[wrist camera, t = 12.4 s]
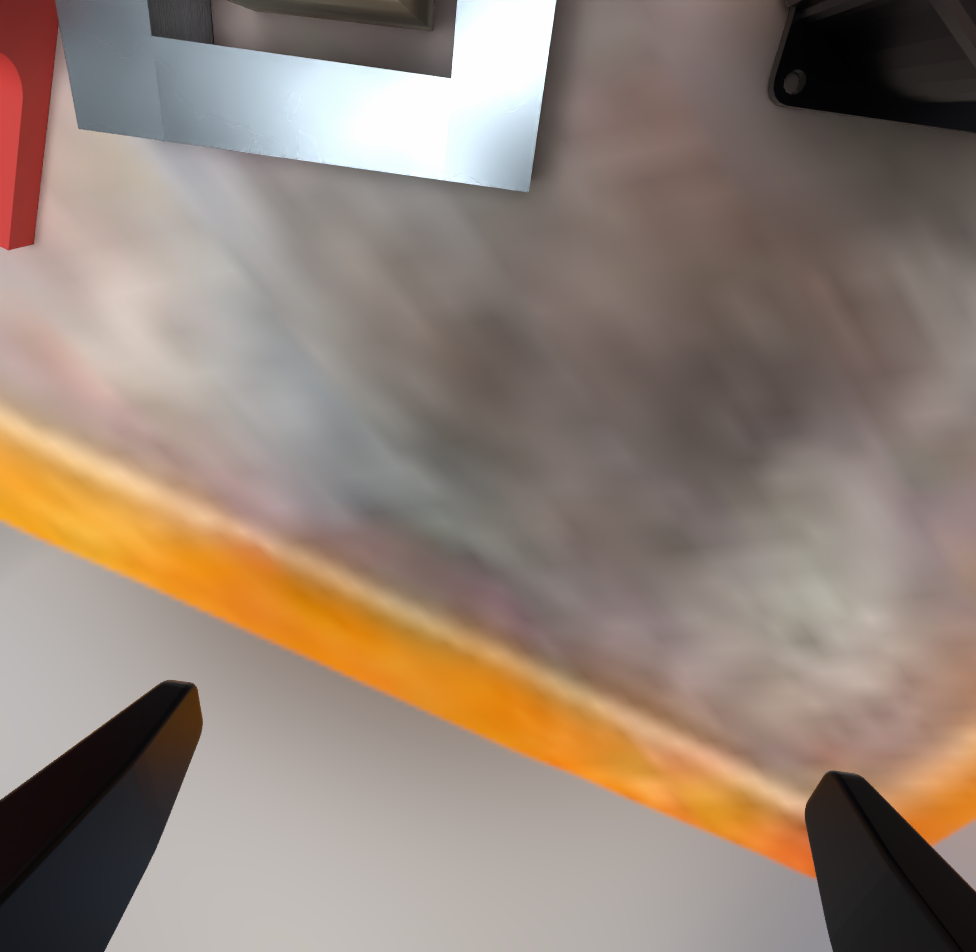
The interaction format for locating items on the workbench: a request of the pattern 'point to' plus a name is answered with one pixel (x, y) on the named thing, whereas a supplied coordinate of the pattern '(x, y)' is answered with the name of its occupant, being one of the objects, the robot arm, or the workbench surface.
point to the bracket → (24, 112)
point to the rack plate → (315, 91)
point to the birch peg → (354, 11)
